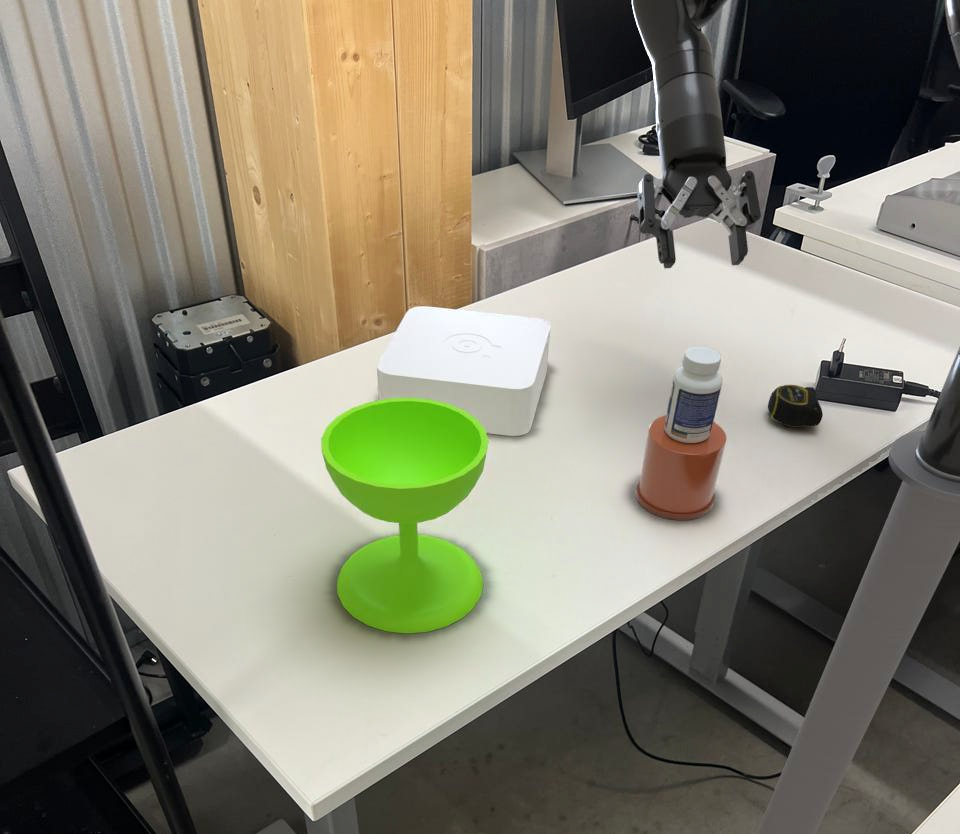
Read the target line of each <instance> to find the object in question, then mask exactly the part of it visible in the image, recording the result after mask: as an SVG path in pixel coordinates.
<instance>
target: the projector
mask: <svg viewBox="0 0 960 834" xmlns="http://www.w3.org/2000/svg"><path fill="white" fill-rule="evenodd" d="M550 337H551V324H550V323H549V321H546V320H545V319H542V318H538V317H530V316H521V315H511V314H504V313H503V314H502V313H494V312H493V313H492V312H485V311H474V310H473V311H472V310H464V309H456V308H455V309H454V308H445V307H438V306H429V305H427V306H426V305H423V306H421V305H419V306H414V307H410V308H409V309H408V310H407V311H406V313H405V315H404V316H403V317H402V320H401V321H400V323H399V325H398V326H397V328H396V330H395V331H394V333H393V336H392V338H391V339H390V340H389V342H388V344H387V346H386V348H385V350H384V351H383V353H382V355H381V357H380V359H379V360H378V362H377V364H376V376H377V377H376V379H377V395H378V400H384V399H390V398H419V399H430V400H434V401H438V402H443V403H447V404H450V405H452V406H455V407H457V408H459V409H462V410H464V411H466V412H467V413H469V414H470V415H471V416H473V417H474V418H476V419H477V420H478V421H479V422H480V424H481V425H482V426H483V428H484V429H485V430H486V434H492V435H500V436H508V437H519V436H524V435H526V434H528V433H529V432H531V429H532V426H533V422H534V419H535V415H536V412H537V409H538V405H539V401H540V398H541V394H542V391H543V388H544V383H545V380H546V376H547V373H548V364H549V363H548V361H549V350H550Z"/></svg>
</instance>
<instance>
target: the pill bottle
mask: <svg viewBox="0 0 960 834" xmlns="http://www.w3.org/2000/svg"><path fill="white" fill-rule="evenodd" d="M683 354H684V355H683V359H682V366H680V367H678V368H677V369H676V370H675V372H674V375H673V378H672V384H671V389H670V395H669V401H668V405H667V410H666V414H665V415H666V421H665V431H666V433H667V434H668V435H669V436H670V437H671V438H673V439H674V440H677V441H679V442H683V443H698V442H702V441H704V440H706V439H707V438H708V437H709V436H710V433H711V429H712V425H713V422H715V415H716V412H717V409H718V404H719V398H720V394H721V392H722V391H721V390H722V387H723V386H722V385H723V376H722V374H721V373H720V371H719V369H720V366H721V363H722V362H721V361H722V355H721V354H720V352H718V350H715V349H713V348H710V347H705V346H693V347H690V348H687V349H686V350H685V352H684V353H683Z"/></svg>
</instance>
